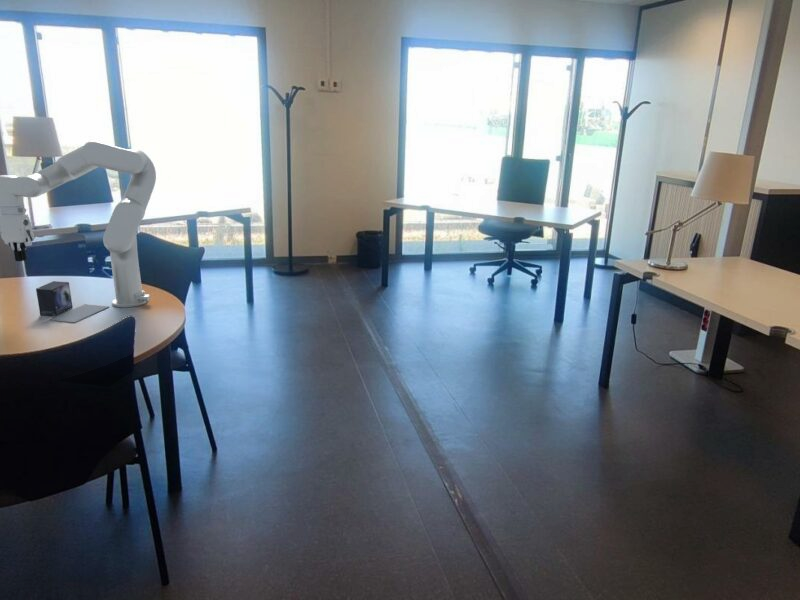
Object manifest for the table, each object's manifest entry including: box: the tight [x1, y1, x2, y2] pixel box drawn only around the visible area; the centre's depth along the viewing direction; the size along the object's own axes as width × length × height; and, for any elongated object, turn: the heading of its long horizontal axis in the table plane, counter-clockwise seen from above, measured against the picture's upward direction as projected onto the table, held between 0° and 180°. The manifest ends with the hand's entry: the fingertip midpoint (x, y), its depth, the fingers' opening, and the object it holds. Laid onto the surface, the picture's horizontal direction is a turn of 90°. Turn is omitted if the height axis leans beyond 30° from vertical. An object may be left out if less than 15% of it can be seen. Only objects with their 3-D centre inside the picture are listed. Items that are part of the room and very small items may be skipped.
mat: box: [48, 303, 110, 324], centre depth 203 cm, size 10×18×1 cm, turn 169°
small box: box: [35, 280, 73, 317], centre depth 203 cm, size 11×6×10 cm, turn 179°
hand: (21, 260), depth 201 cm, fingers closed
